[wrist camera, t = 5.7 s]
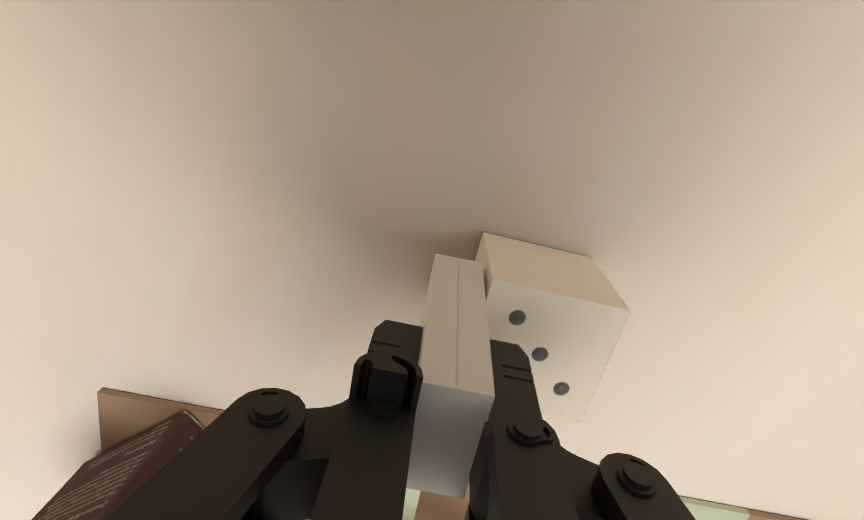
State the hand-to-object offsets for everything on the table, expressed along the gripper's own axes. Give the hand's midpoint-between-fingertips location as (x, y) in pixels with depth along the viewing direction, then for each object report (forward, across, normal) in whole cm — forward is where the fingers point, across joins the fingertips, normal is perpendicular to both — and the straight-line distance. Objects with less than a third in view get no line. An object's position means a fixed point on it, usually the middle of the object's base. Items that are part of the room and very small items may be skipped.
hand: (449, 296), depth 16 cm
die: (+2, +3, 0) cm, 4 cm away
